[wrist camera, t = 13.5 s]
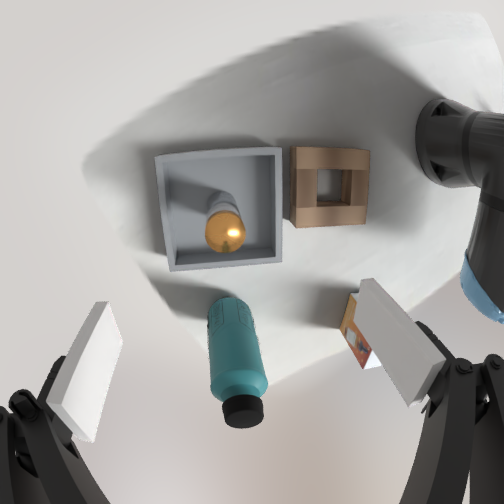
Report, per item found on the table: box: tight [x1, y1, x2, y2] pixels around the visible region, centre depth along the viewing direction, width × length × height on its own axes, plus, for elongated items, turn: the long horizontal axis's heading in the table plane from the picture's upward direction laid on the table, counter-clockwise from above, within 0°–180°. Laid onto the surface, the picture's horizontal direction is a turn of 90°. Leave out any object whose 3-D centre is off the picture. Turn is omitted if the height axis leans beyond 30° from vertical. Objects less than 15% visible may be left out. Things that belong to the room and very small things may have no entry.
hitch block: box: [290, 146, 370, 228], centre depth 34 cm, size 10×10×3 cm
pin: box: [205, 191, 246, 253], centre depth 29 cm, size 4×4×10 cm
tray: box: [155, 146, 282, 272], centre depth 33 cm, size 14×14×4 cm
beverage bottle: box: [207, 297, 268, 429], centre depth 32 cm, size 6×7×20 cm
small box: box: [340, 293, 382, 369], centre depth 40 cm, size 8×6×10 cm
